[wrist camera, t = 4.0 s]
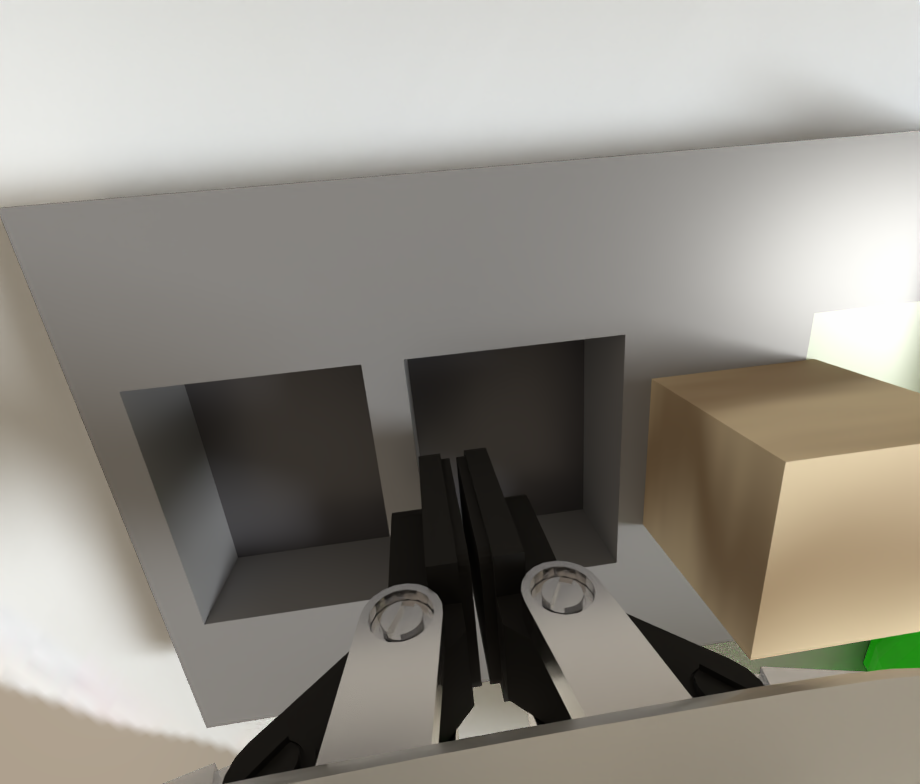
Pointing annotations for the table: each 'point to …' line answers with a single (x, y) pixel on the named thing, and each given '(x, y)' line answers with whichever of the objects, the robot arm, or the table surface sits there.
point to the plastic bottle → (893, 652)
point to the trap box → (442, 364)
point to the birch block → (789, 501)
